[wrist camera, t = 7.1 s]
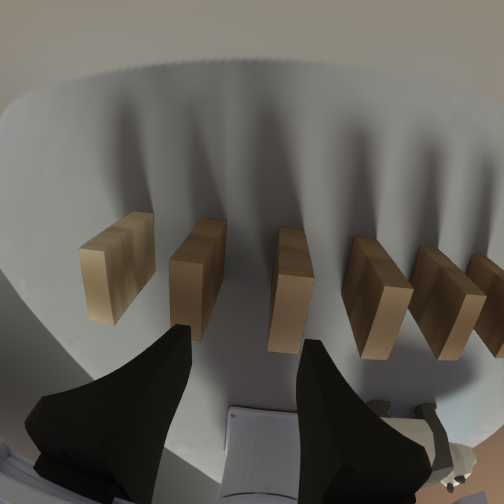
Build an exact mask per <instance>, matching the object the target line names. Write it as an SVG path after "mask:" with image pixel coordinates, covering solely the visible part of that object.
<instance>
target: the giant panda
mask: <svg viewBox="0 0 504 504" xmlns="http://www.w3.org/2000/svg"><path fill="white" fill-rule="evenodd" d="M367 406H368V407H369V408H370V409H371V410H372V411H373V412H374V413H375V414H377V415H378V416H379V417H380V418H381V419H382V420H384V421H385V422H386V423H387V424H389V425H390V426H391V427H393V428H394V429H395V430H397V431H398V432H400V433H401V434H403V435H404V436H406V437H408V438H409V439H411V440H413V441H415V442H416V443H418V444H420V445H422V446H424V447H425V450H426V452H427V454H428V457H429V460H430V463H431V467H432V470H433V471H432V474H431V476H430V478H429V479H428V480H427V481H426V483H425V484H424V485H423V486H422V487H428V486H432V485H434V484H436V483H438V482H442V483H443V484H444V485H445V486H447V490H448V492H449V493H452V492H453V490H454V486H456V485H458V484H464V483H465V480H466V478H467V477H468V476H469V475H470V474H471V473H472V469H473V465H474V464H475V463H476V462H477V461H478V458H477V456H476V455H475V454H473V452H472V449H471V447H469V446H465V445H462V444H457V443H451V442H448V438H447V433H446V431H445V429H444V427H443V426H442V424H441V422H440V420H439V418H438V417H437V415H436V412H435V410H436V408H437V406H436V405H435V404H421V405H419V406H418V407H417V408H416V410H415V412H414V413H415V417H416V419H403V418H392V417H390V416H389V415H388V414H387V411H388V410H389V407H390V403H389V402H385V401H370V402H369V403H368V404H367ZM422 487H421V488H422Z"/></svg>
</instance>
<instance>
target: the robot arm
mask: <svg viewBox="0 0 504 504" xmlns="http://www.w3.org/2000/svg"><path fill="white" fill-rule="evenodd" d="M191 366H192V345H191V326H189V325H182V324H175V325H174V326H173V327H172V328H170V329H169V330H168V331H167V332H166V333H165V334H164V335H163V336H161V337H160V338H159V339H158V340H157V341H156V342H154V343H153V344H152V345H151V346H150V347H148V348H147V349H146V350H145V351H143V352H142V353H141V354H139V355H138V356H137V357H135V358H134V359H132V360H131V361H130V362H128V363H127V364H125V365H124V366H122V367H120V368H119V369H117V370H115V371H113V372H112V373H110V374H108V375H106V376H104V377H102V378H99V379H97V380H95V381H93V382H91V383H89V384H86V385H83V386H80V387H78V388H74V389H71V390H68V391H65V392H61V393H57V394H52V395H48V396H43V397H42V398H41V399H40V400H39V402H38V403H37V404H36V406H35V407H34V408H33V410H32V411H31V413H30V414H29V416H28V417H27V419H26V420H25V422H24V423H25V428H26V430H27V432H28V434H29V436H30V437H31V439H32V440H33V442H34V443H35V445H36V446H37V448H38V449H39V451H40V452H41V454H40V456H39V458H38V459H37V461H36V463H34V462H32V461H30V460H28V459H26V458H25V457H23V456H21V455H19V454H17V453H16V452H14V451H12V450H11V449H10V447H9V445H8V444H7V443H6V442H5V440H4V439H2V437H0V504H151V502H152V497H153V491H154V486H155V481H156V477H157V472H158V468H159V464H160V459H161V455H162V451H163V448H164V444H165V440H166V436H167V433H168V430H169V427H170V424H171V422H172V420H173V417H174V415H175V412H176V410H177V407H178V405H179V402H180V400H181V398H182V395H183V393H184V390H185V388H186V385H187V382H188V378H189V374H190V370H191ZM296 403H297V413H288V412H276V411H266V410H257V409H249V408H241V407H230V408H229V410H228V420H227V433H226V445H225V457H226V462H225V467H224V473H223V479H222V485H221V490H220V496H219V497H215V498H214V501H213V504H415V503H416V497H415V493H416V492H417V491H418V490H419V489H420V488H421V487H422V486H423V485H424V484H425V483H426V481H427V480H428V479H429V478H430V476H431V474H432V471H433V470H432V467H431V463H430V460H429V457H428V454H427V452H426V450H425V447H424V446H422V445H420V444H418V443H416V442H415V441H413V440H411V439H409V438H408V437H406V436H404V435H403V434H401V433H400V432H398V431H397V430H395V429H394V428H393V427H391V426H390V425H389V424H387V423H386V422H385V421H384V420H382V419H381V418H380V417H379V416H378V415H377V414H375V413H374V412H373V411H372V410H371V409H370V408H369V407H368V406H367V405H366V404H365V403H364V402H363V401H362V400H361V399H360V398H359V397H358V395H357V394H356V393H355V392H354V391H353V389H352V388H351V387H350V385H349V384H348V383H347V382H346V380H345V379H344V377H343V376H342V374H341V373H340V372H339V370H338V369H337V367H336V366H335V364H334V362H333V361H332V359H331V357H330V356H329V354H328V352H327V351H326V349H325V347H324V345H323V343H322V342H321V341H320V340H312V339H305V341H304V345H303V350H302V354H301V359H300V363H299V368H298V372H297V379H296ZM452 504H488V501H487V498H486V495H485V492H483V491H482V492H479V493H476V494H473V495H470V496H467V497H463V498H461V499H459V500H457V501H455V502H453V503H452Z"/></svg>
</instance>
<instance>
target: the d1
mask: <svg viewBox="0 0 504 504" xmlns="http://www.w3.org/2000/svg"><path fill="white" fill-rule="evenodd" d="M466 275H467V276H468V277H469V278H470V279H471V280H472V281H473V282H474V283H475V284H476V285H477V286H478V287H479V288H480V289H481V290H482V291H483V292H484V294H485V295H486V296H487V298H486V300H485V303H484V305H483V307H482V310H481V312H480V314H479V317H478V319H477V321H476V324H475V326H474V328H473V329H474V330H475V331H476V333H477V334H478V335H479V337H480V338H481V339H482V341H483V342H484V343H485V345H486V346H487V348H488V349H489V350H490V352H491V353H492V354H493V356H494V357H495V358H504V270H502V269H501V268H500V267H499V266H498V265H496V264H495V263H494V262H493V261H491V260H490V259H489V258H488V257H485V256H479V255H472V258H471V261H470V264H469V267H468V270H467V273H466Z"/></svg>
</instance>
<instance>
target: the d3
mask: <svg viewBox="0 0 504 504" xmlns="http://www.w3.org/2000/svg"><path fill="white" fill-rule="evenodd" d="M413 290H414V289H413V287H412V286H411V284H410V283H409V282H408V280H407V279H406V277H405V276H404V275H403V273H402V272H401V271H400V269H399V268H398V267H397V265H396V264H395V263H394V261H393V260H392V259H391V257H390V256H389V255H388V253H387V252H386V251H385V249H384V248H383V247H382V245H381V244H380V243H379V242H378V240H377V239H370V238H363V237H356V236H355V237H354V241H353V246H352V251H351V255H350V260H349V264H348V269H347V273H346V277H345V281H344V285H343V289H342V293H341V296H342V299H343V302H344V305H345V308H346V312H347V315H348V318H349V321H350V325H351V328H352V331H353V335H354V338H355V341H356V345H357V348H358V352H359V355H360V359H376V360H387V359H388V357H389V355H390V352H391V350H392V347H393V345H394V343H395V340H396V337H397V335H398V332H399V330H400V327H401V324H402V322H403V319H404V316H405V314H406V311H407V308H408V305H409V302H410V299H411V296H412V293H413Z"/></svg>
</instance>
